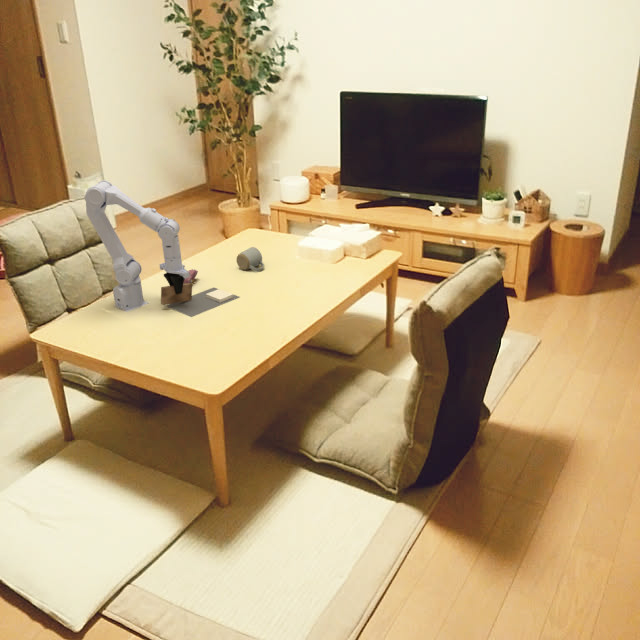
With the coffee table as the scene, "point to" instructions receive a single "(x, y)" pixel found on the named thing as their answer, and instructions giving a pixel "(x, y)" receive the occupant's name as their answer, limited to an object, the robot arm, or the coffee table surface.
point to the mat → (198, 304)
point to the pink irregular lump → (191, 276)
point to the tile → (219, 295)
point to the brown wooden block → (171, 297)
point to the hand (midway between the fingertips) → (177, 292)
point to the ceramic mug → (250, 259)
